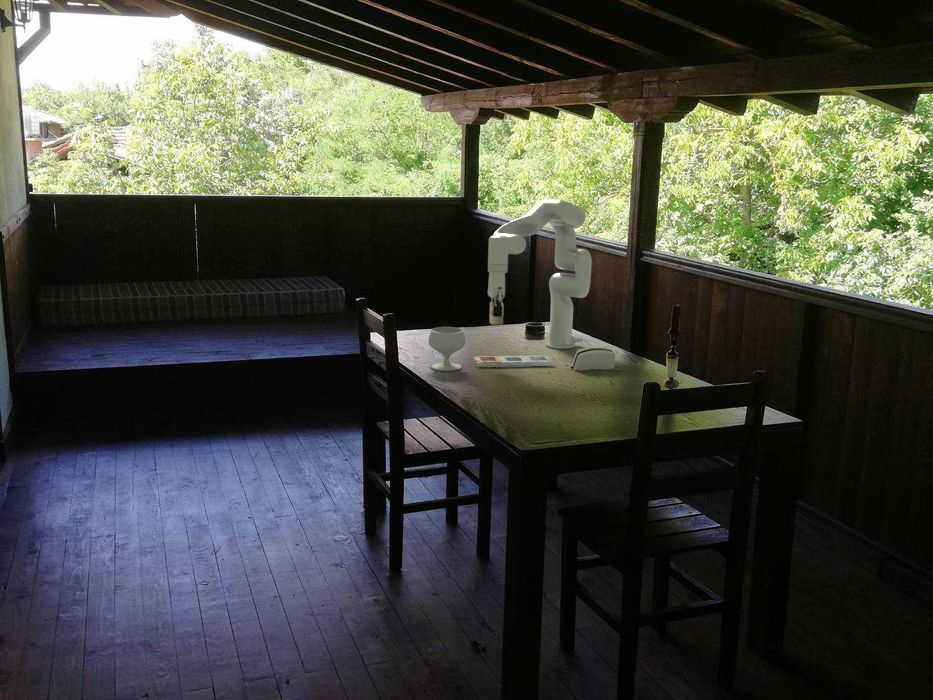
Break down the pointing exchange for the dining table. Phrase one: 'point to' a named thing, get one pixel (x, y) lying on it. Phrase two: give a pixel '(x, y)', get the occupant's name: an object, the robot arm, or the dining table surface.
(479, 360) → the rail
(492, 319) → the peg
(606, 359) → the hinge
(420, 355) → the dining table surface
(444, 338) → the chalice
